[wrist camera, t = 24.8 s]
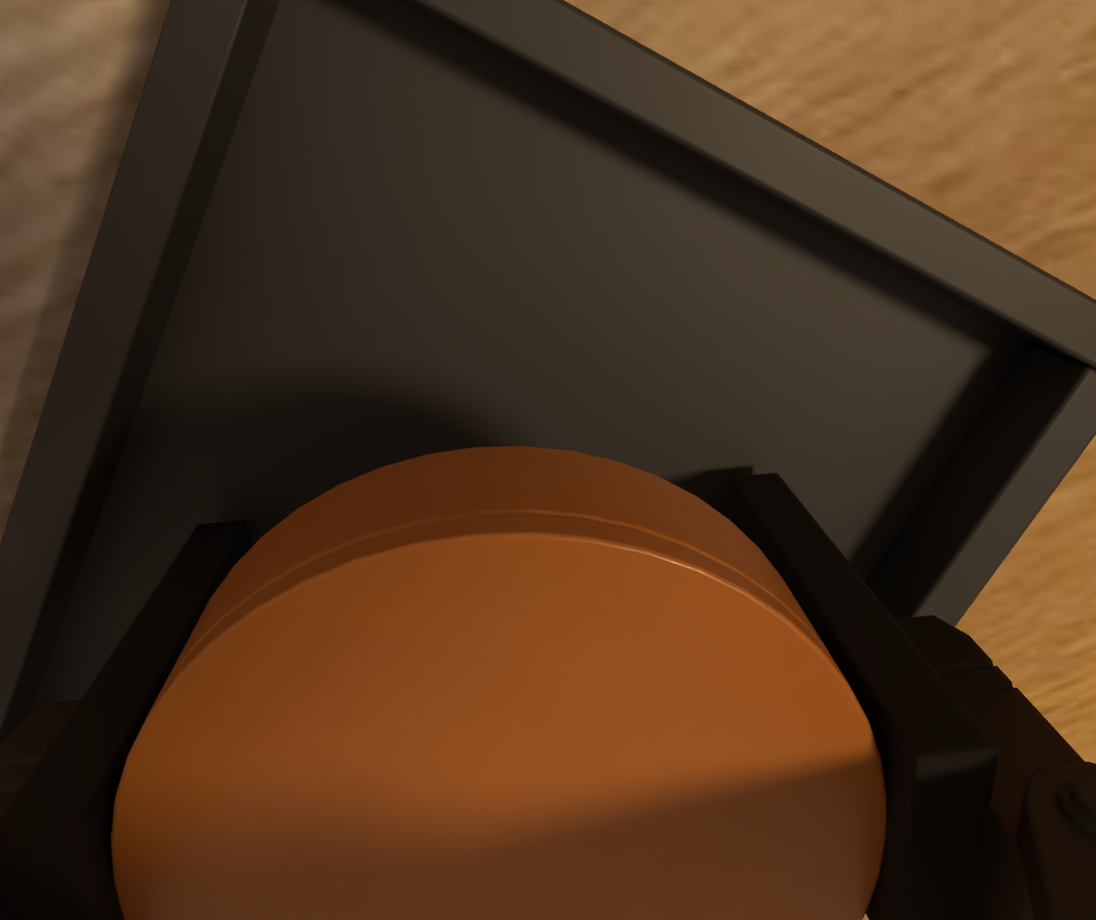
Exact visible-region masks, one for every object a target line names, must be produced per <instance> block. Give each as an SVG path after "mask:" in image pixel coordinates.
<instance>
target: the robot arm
mask: <svg viewBox="0 0 1096 920" xmlns="http://www.w3.org/2000/svg"><path fill="white" fill-rule="evenodd" d="M730 521H731V522H732V523H733V524H735V525H736V526H737V527H738V528H739V529H740V530H741V531H742V532H743V533H744V534H745V535H746V536H747V537H748V538H749V539H750V540H751V541H752V542H753V543H754V544H755V545H756V546H758V547H759V549H760V550H761V551H762V552H763V554H764V555H765V556H766V558H767V559H768V560H769V562H770V563H771V564H772V565H773V567H774V568H775V569H776V571H777V572H778V573H779V575H780V576H781V577H782V579H783V580H784V582H785V583H786V585H787V586H788V588H789V590H790V591H791V593H792V594H793V596H794V598H795V599H796V601H797V602H798V604H799V606H800V607H801V609H802V610H803V612H804V614H805V615H806V617H807V618H808V620H809V622H810V623H811V625H812V626H813V628H814V629H815V631H816V633H817V634H818V636H819V637H820V639H821V641H822V642H823V644H824V645H825V647H826V649H827V650H828V652H829V653H830V655H831V657H832V659H833V660H834V662H835V663H836V664H837V666H838V668H839V669H840V671H841V672H842V674H843V676H844V677H845V679H846V680H847V682H848V684H849V685H850V687H851V689H852V691H853V693H854V695H855V697H856V698H857V700H858V702H859V704H860V706H861V708H862V709H863V711H864V713H865V715H866V717H867V719H868V721H869V724H870V727H871V730H872V733H873V735H874V738H875V741H876V744H877V747H878V750H879V753H880V756H881V760H882V767H883V773H884V780H885V786H886V793H887V825H886V837H885V846H884V853H883V859H882V864H881V870H880V875H879V878H878V880H877V883H876V886H875V889H874V892H873V895H872V898H871V900H870V903H869V906H868V909H867V911H866V914H867V916H868V918H869V920H1096V764H1095V763H1091V762H1085V761H1084V760H1083V759H1082V758H1081V757H1080V756H1079V755H1078V754H1077V753H1076V752H1075V750H1074V749H1073V748H1072V747H1071V746H1070V745H1069V744H1068V743H1067V742H1066V741H1065V740H1064V738H1063V737H1062V736H1061V735H1060V734H1059V733H1058V732H1057V731H1056V730H1055V729H1054V728H1053V726H1052V725H1051V724H1050V723H1049V722H1048V721H1047V720H1046V719H1045V718H1044V717H1043V716H1042V715H1041V713H1040V712H1039V711H1038V710H1037V709H1036V708H1035V707H1034V706H1033V705H1032V704H1031V703H1030V701H1029V700H1028V699H1027V698H1026V697H1025V696H1024V695H1023V694H1022V693H1021V692H1020V691H1019V689H1018V688H1013V686H1012V682H1011V681H1010V680H1009V679H1008V677H1007V676H1006V675H1005V674H1004V673H1003V672H1002V671H1001V670H1000V669H999V668H998V667H997V666H993V661H992V660H991V659H990V658H989V657H988V656H987V655H986V653H985V652H984V651H983V650H982V649H981V648H980V647H979V646H978V645H977V644H976V643H975V641H974V640H973V639H972V638H971V637H970V636H969V635H967V634H966V633H964V632H962V631H960V630H959V629H957V628H955V627H953V626H952V625H950V624H948V623H946V622H945V621H943V620H941V619H939V618H938V617H936V616H934V615H929V616H918V617H908V618H898V619H894V618H893V616H892V615H891V614H890V613H889V611H888V610H887V609H886V608H885V606H884V605H883V604H882V603H881V601H880V600H879V599H878V598H877V596H876V595H875V594H874V593H873V591H872V590H871V589H870V588H869V586H868V585H867V584H866V583H865V581H864V580H863V579H862V578H861V576H860V575H859V574H858V573H857V571H856V570H855V569H854V568H853V567H852V565H851V564H850V563H849V562H848V560H847V559H846V558H845V557H844V555H843V554H842V553H841V552H840V550H839V549H838V548H837V547H836V545H835V544H834V543H833V542H832V540H831V539H830V538H829V537H828V535H827V534H826V533H825V532H824V530H823V529H822V528H821V527H820V525H819V524H818V523H817V522H816V520H815V519H814V518H813V517H812V515H811V514H810V513H809V512H808V510H807V509H806V508H805V507H804V505H803V504H802V503H801V502H800V500H799V499H798V498H797V497H796V495H795V494H794V493H793V492H792V490H791V489H790V488H789V487H788V485H787V484H786V483H785V482H784V481H783V479H782V478H781V477H780V476H779V474H778V473H767V474H756V475H745V476H734V477H730ZM252 547H253V544H252V539H251V534H250V530H249V525H248V520H239V521H228V522H216V523H205V524H198V525H197V526H196V528H195V529H194V531H193V532H192V534H191V535H190V537H189V538H188V540H187V541H186V543H185V544H184V546H183V547H182V549H181V550H180V552H179V553H178V555H177V556H176V558H175V559H174V561H173V562H172V564H171V565H170V567H169V568H168V570H167V571H166V573H165V574H164V576H163V577H162V579H161V580H160V582H159V583H158V585H157V586H156V588H155V589H154V591H153V592H152V594H151V595H150V597H149V598H148V600H147V601H146V603H145V604H144V606H143V607H142V609H141V610H140V612H139V613H138V615H137V616H136V618H135V619H134V621H133V622H132V624H131V625H130V627H129V628H128V630H127V631H126V633H125V634H124V636H123V637H122V639H121V640H120V642H119V643H118V645H117V646H116V647H115V649H114V650H113V652H112V653H111V655H110V656H109V658H108V659H107V661H106V662H105V664H104V665H103V667H102V668H101V670H100V671H99V673H98V674H97V676H96V677H95V679H94V680H93V682H92V683H91V685H90V686H89V688H88V689H87V691H86V692H85V694H84V695H83V697H82V698H81V700H75V701H64V702H54V703H47V704H46V705H45V706H44V707H42V708H41V709H40V710H38V711H37V712H36V713H35V714H33V715H32V716H31V717H29V718H28V719H27V720H25V721H24V722H23V723H22V724H20V725H19V726H18V727H16V728H15V729H14V730H13V731H11V732H10V734H9V735H8V736H7V738H6V739H5V740H4V742H3V743H2V744H1V746H0V920H124V918H123V915H122V912H121V908H120V905H119V902H118V898H117V894H116V890H115V886H114V881H113V868H112V853H111V829H112V821H113V812H114V804H115V796H116V793H117V789H118V786H119V783H120V779H121V776H122V773H123V769H124V766H125V763H126V759H127V756H128V754H129V752H130V750H131V748H132V746H133V744H134V742H135V740H136V738H137V736H138V734H139V732H140V730H141V728H142V726H143V724H144V722H145V720H146V718H147V716H148V714H149V712H150V710H151V708H152V706H153V705H154V703H155V701H156V699H157V697H158V695H159V693H160V692H161V690H162V688H163V686H164V684H165V682H166V680H167V678H168V677H169V675H170V673H171V671H172V669H173V667H174V665H175V664H176V662H177V660H178V658H179V656H180V654H181V652H182V651H183V649H184V647H185V645H186V643H187V641H188V639H189V638H190V636H191V634H192V632H193V630H194V628H195V626H196V625H197V623H198V621H199V619H200V617H201V615H202V613H203V612H204V610H205V608H206V606H207V604H208V602H209V600H210V599H211V597H212V596H213V594H214V593H215V592H216V590H217V589H218V587H219V586H220V585H221V583H222V582H223V580H224V579H225V578H226V576H227V575H228V573H229V572H230V571H231V569H232V568H233V566H234V565H235V564H236V563H237V562H238V561H239V560H240V559H241V558H242V557H243V556H244V555H245V554H246V553H247V552H248V551H249V550H250V549H251V548H252Z"/></svg>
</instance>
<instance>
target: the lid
mask: <svg viewBox="0 0 1096 920" xmlns="http://www.w3.org/2000/svg"><path fill="white" fill-rule="evenodd" d="M886 825H887V793H886V786H885V780H884V773H883V767H882V760H881V756H880V753H879V750H878V747H877V744H876V741H875V738H874V735H873V733H872V730H871V727H870V724H869V721H868V719H867V717H866V715H865V713H864V711H863V709H862V708H861V706H860V704H859V702H858V700H857V698H856V697H855V695H854V693H853V691H852V689H851V687H850V685H849V684H848V682H847V680H846V679H845V677H844V676H843V674H842V672H841V671H840V669H839V668H838V666H837V664H836V663H835V662H834V660H833V659H832V657H831V655H830V653H829V652H828V650H827V649H826V647H825V645H824V644H823V642H822V641H821V639H820V637H819V636H818V634H817V633H816V631H815V629H814V628H813V626H812V625H811V623H810V622H809V620H808V618H807V617H806V615H805V614H804V612H803V610H802V609H801V607H800V606H799V604H798V602H797V601H796V599H795V598H794V596H793V594H792V593H791V591H790V590H789V588H788V586H787V585H786V583H785V582H784V580H783V579H782V577H781V576H780V575H779V573H778V572H777V571H776V569H775V568H774V567H773V565H772V564H771V563H770V562H769V560H768V559H767V558H766V556H765V555H764V554H763V552H762V551H761V550H760V549H759V547H758V546H756V545H755V544H754V543H753V542H752V541H751V540H750V539H749V538H748V537H747V536H746V535H745V534H744V533H743V532H742V531H741V530H740V529H739V528H738V527H737V526H736V525H735V524H733V523H732V522H731V521H730V520H729V519H728V518H726V517H725V516H723V515H722V514H721V513H719V512H718V511H716V510H715V509H714V508H712V507H711V506H709V505H708V504H707V503H705V502H704V501H702V500H701V499H700V498H698V497H697V496H695V495H693V494H691V493H689V492H687V491H685V490H683V489H682V488H680V487H678V486H676V485H674V484H672V483H670V482H668V481H666V480H664V479H662V478H660V477H659V476H656V475H653V474H651V473H648V472H645V471H642V470H640V469H637V468H634V467H631V466H629V465H626V464H623V463H620V462H618V461H614V460H610V459H605V458H601V457H597V456H592V455H588V454H583V453H579V452H574V451H569V450H559V449H549V448H538V447H528V446H504V447H473V448H467V449H460V450H453V451H446V452H440V453H433V454H427V455H423V456H420V457H416V458H412V459H409V460H405V461H402V462H398V463H394V464H391V465H387V466H384V467H380V468H378V469H376V470H373V471H371V472H368V473H366V474H364V475H361V476H359V477H356V478H354V479H352V480H349V481H347V482H345V483H342V484H340V485H337V486H336V487H334V488H332V489H331V490H329V491H327V492H325V493H324V494H322V495H320V496H319V497H317V498H315V499H313V500H312V501H310V502H308V503H306V504H305V505H303V506H301V507H300V508H298V509H297V510H295V511H294V512H293V513H292V514H290V515H289V516H288V517H286V518H285V519H284V520H283V521H281V522H280V523H279V524H277V525H276V526H275V527H274V528H272V529H271V530H270V531H268V532H267V533H266V534H265V535H263V536H262V537H261V538H260V539H259V540H258V541H257V543H256V544H255V545H254V546H253V547H252V548H251V549H250V550H249V551H248V552H247V553H246V554H245V555H244V556H243V557H242V558H241V559H240V560H239V561H238V562H237V563H236V564H235V565H234V566H233V568H232V569H231V571H230V572H229V573H228V575H227V576H226V578H225V579H224V580H223V582H222V583H221V585H220V586H219V587H218V589H217V590H216V592H215V593H214V594H213V596H212V597H211V599H210V600H209V602H208V604H207V606H206V608H205V610H204V612H203V613H202V615H201V617H200V619H199V621H198V623H197V625H196V626H195V628H194V630H193V632H192V634H191V636H190V638H189V639H188V641H187V643H186V645H185V647H184V649H183V651H182V652H181V654H180V656H179V658H178V660H177V662H176V664H175V665H174V667H173V669H172V671H171V673H170V675H169V677H168V678H167V680H166V682H165V684H164V686H163V688H162V690H161V692H160V693H159V695H158V697H157V699H156V701H155V703H154V705H153V706H152V708H151V710H150V712H149V714H148V716H147V718H146V720H145V722H144V724H143V726H142V728H141V730H140V732H139V734H138V736H137V738H136V740H135V742H134V744H133V746H132V748H131V750H130V752H129V754H128V756H127V759H126V763H125V766H124V769H123V773H122V776H121V779H120V783H119V786H118V789H117V793H116V796H115V804H114V812H113V821H112V829H111V853H112V868H113V881H114V886H115V890H116V894H117V898H118V902H119V905H120V908H121V912H122V915H123V918H124V920H862V919H863V917H864V915H865V913H866V911H867V909H868V906H869V903H870V900H871V898H872V895H873V892H874V889H875V886H876V883H877V880H878V878H879V875H880V870H881V864H882V859H883V853H884V846H885V837H886Z"/></svg>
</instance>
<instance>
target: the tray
mask: <svg viewBox="0 0 1096 920" xmlns="http://www.w3.org/2000/svg"><path fill="white" fill-rule="evenodd" d="M1095 435H1096V300H1095V299H1093V298H1091V297H1090V296H1088V295H1086V294H1084V293H1083V292H1081V291H1079V290H1077V289H1075V288H1074V287H1072V286H1070V285H1068V284H1067V283H1065V282H1063V281H1061V280H1059V279H1058V278H1056V277H1054V276H1052V275H1051V274H1049V273H1047V272H1045V271H1043V270H1042V269H1040V268H1038V267H1036V266H1035V265H1033V264H1031V263H1029V262H1027V261H1026V260H1024V259H1022V258H1020V257H1019V256H1017V255H1015V254H1013V253H1011V252H1010V251H1008V250H1006V249H1004V248H1003V247H1001V246H999V245H997V244H995V243H994V242H992V241H990V240H988V239H987V238H985V237H983V236H981V235H979V234H978V233H976V232H974V231H972V230H971V229H969V228H967V227H965V226H964V225H962V224H960V223H958V222H956V221H955V220H953V219H951V218H949V217H948V216H946V215H944V214H942V213H940V212H939V211H937V210H935V209H933V208H932V207H930V206H928V205H926V204H924V203H923V202H921V201H919V200H917V199H916V198H914V197H912V196H910V195H908V194H907V193H905V192H903V191H901V190H900V189H898V188H896V187H894V186H892V185H891V184H889V183H887V182H885V181H884V180H882V179H880V178H878V177H876V176H875V175H873V174H871V173H869V172H868V171H866V170H864V169H862V168H860V167H859V166H857V165H855V164H853V163H852V162H850V161H848V160H846V159H845V158H843V157H841V156H839V155H837V154H836V153H834V152H832V151H830V150H829V149H827V148H825V147H823V146H821V145H820V144H818V143H816V142H814V141H813V140H811V139H809V138H807V137H805V136H804V135H802V134H800V133H798V132H797V131H795V130H793V129H791V128H789V127H788V126H786V125H784V124H782V123H781V122H779V121H777V120H775V119H773V118H772V117H770V116H768V115H766V114H765V113H763V112H761V111H759V110H757V109H756V108H754V107H752V106H750V105H749V104H747V103H745V102H743V101H741V100H740V99H738V98H736V97H734V96H733V95H731V94H729V93H727V92H726V91H724V90H722V89H720V88H718V87H717V86H715V85H713V84H711V83H710V82H708V81H706V80H704V79H702V78H701V77H699V76H697V75H695V74H694V73H692V72H690V71H688V70H686V69H685V68H683V67H681V66H679V65H678V64H676V63H674V62H672V61H670V60H669V59H667V58H665V57H663V56H662V55H660V54H658V53H656V52H654V51H653V50H651V49H649V48H647V47H646V46H644V45H642V44H640V43H638V42H637V41H635V40H633V39H631V38H630V37H628V36H626V35H624V34H622V33H621V32H619V31H617V30H615V29H614V28H612V27H610V26H608V25H607V24H605V23H603V22H601V21H599V20H598V19H596V18H594V17H592V16H591V15H589V14H587V13H585V12H583V11H582V10H580V9H578V8H576V7H575V6H573V5H571V4H569V3H567V2H566V1H564V0H171V1H170V4H169V8H168V11H167V14H166V17H165V20H164V24H163V27H162V30H161V33H160V36H159V40H158V43H157V46H156V49H155V52H154V55H153V59H152V62H151V65H150V68H149V71H148V75H147V78H146V81H145V84H144V87H143V91H142V94H141V97H140V100H139V103H138V106H137V110H136V113H135V116H134V119H133V122H132V126H131V129H130V132H129V135H128V138H127V142H126V145H125V148H124V151H123V154H122V157H121V161H120V164H119V167H118V170H117V173H116V177H115V180H114V183H113V186H112V189H111V193H110V196H109V199H108V202H107V205H106V208H105V212H104V215H103V218H102V221H101V224H100V228H99V231H98V234H97V237H96V240H95V244H94V247H93V250H92V253H91V256H90V259H89V263H88V266H87V269H86V272H85V275H84V279H83V282H82V285H81V288H80V291H79V295H78V298H77V301H76V304H75V307H74V311H73V314H72V317H71V320H70V323H69V326H68V330H67V333H66V336H65V339H64V342H63V346H62V349H61V352H60V355H59V358H58V362H57V365H56V368H55V371H54V374H53V377H52V381H51V384H50V387H49V390H48V393H47V397H46V400H45V403H44V406H43V409H42V413H41V416H40V419H39V422H38V425H37V428H36V432H35V435H34V438H33V441H32V444H31V448H30V451H29V454H28V457H27V460H26V464H25V467H24V470H23V473H22V476H21V479H20V483H19V486H18V489H17V492H16V495H15V499H14V502H13V505H12V508H11V511H10V515H9V518H8V521H7V524H6V527H5V530H4V534H3V537H2V540H1V543H0V746H1V744H2V743H3V742H4V740H5V739H6V738H7V736H8V735H9V734H10V732H11V731H13V730H14V729H15V728H16V727H18V726H19V725H20V724H22V723H23V722H24V721H25V720H27V719H28V718H29V717H31V716H32V715H33V714H35V713H36V712H37V711H38V710H40V709H41V708H42V707H44V706H45V705H46V704H47V703H54V702H64V701H75V700H81V698H82V697H83V695H84V694H85V692H86V691H87V689H88V688H89V686H90V685H91V683H92V682H93V680H94V679H95V677H96V676H97V674H98V673H99V671H100V670H101V668H102V667H103V665H104V664H105V662H106V661H107V659H108V658H109V656H110V655H111V653H112V652H113V650H114V649H115V647H116V646H117V645H118V643H119V642H120V640H121V639H122V637H123V636H124V634H125V633H126V631H127V630H128V628H129V627H130V625H131V624H132V622H133V621H134V619H135V618H136V616H137V615H138V613H139V612H140V610H141V609H142V607H143V606H144V604H145V603H146V601H147V600H148V598H149V597H150V595H151V594H152V592H153V591H154V589H155V588H156V586H157V585H158V583H159V582H160V580H161V579H162V577H163V576H164V574H165V573H166V571H167V570H168V568H169V567H170V565H171V564H172V562H173V561H174V559H175V558H176V556H177V555H178V553H179V552H180V550H181V549H182V547H183V546H184V544H185V543H186V541H187V540H188V538H189V537H190V535H191V534H192V532H193V531H194V529H195V528H196V526H197V525H198V524H205V523H216V522H228V521H239V520H248V525H249V530H250V534H251V539H252V544H253V546H254V545H255V544H256V543H257V541H258V540H259V539H260V538H261V537H262V536H263V535H265V534H266V533H267V532H268V531H270V530H271V529H272V528H274V527H275V526H276V525H277V524H279V523H280V522H281V521H283V520H284V519H285V518H286V517H288V516H289V515H290V514H292V513H293V512H294V511H295V510H297V509H298V508H300V507H301V506H303V505H305V504H306V503H308V502H310V501H312V500H313V499H315V498H317V497H319V496H320V495H322V494H324V493H325V492H327V491H329V490H331V489H332V488H334V487H336V486H337V485H340V484H342V483H345V482H347V481H349V480H352V479H354V478H356V477H359V476H361V475H364V474H366V473H368V472H371V471H373V470H376V469H378V468H380V467H384V466H387V465H391V464H394V463H398V462H402V461H405V460H409V459H412V458H416V457H420V456H423V455H427V454H433V453H440V452H446V451H453V450H460V449H467V448H473V447H504V446H528V447H538V448H549V449H559V450H569V451H574V452H579V453H583V454H588V455H592V456H597V457H601V458H605V459H610V460H614V461H618V462H620V463H623V464H626V465H629V466H631V467H634V468H637V469H640V470H642V471H645V472H648V473H651V474H653V475H656V476H659V477H660V478H662V479H664V480H666V481H668V482H670V483H672V484H674V485H676V486H678V487H680V488H682V489H683V490H685V491H687V492H689V493H691V494H693V495H695V496H697V497H698V498H700V499H701V500H702V501H704V502H705V503H707V504H708V505H709V506H711V507H712V508H714V509H715V510H716V511H718V512H719V513H721V514H722V515H723V516H725V517H726V518H728V519H729V520H730V477H734V476H745V475H756V474H767V473H778V474H779V476H780V477H781V478H782V479H783V481H784V482H785V483H786V484H787V485H788V487H789V488H790V489H791V490H792V492H793V493H794V494H795V495H796V497H797V498H798V499H799V500H800V502H801V503H802V504H803V505H804V507H805V508H806V509H807V510H808V512H809V513H810V514H811V515H812V517H813V518H814V519H815V520H816V522H817V523H818V524H819V525H820V527H821V528H822V529H823V530H824V532H825V533H826V534H827V535H828V537H829V538H830V539H831V540H832V542H833V543H834V544H835V545H836V547H837V548H838V549H839V550H840V552H841V553H842V554H843V555H844V557H845V558H846V559H847V560H848V562H849V563H850V564H851V565H852V567H853V568H854V569H855V570H856V571H857V573H858V574H859V575H860V576H861V578H862V579H863V580H864V581H865V583H866V584H867V585H868V586H869V588H870V589H871V590H872V591H873V593H874V594H875V595H876V596H877V598H878V599H879V600H880V601H881V603H882V604H883V605H884V606H885V608H886V609H887V610H888V611H889V613H890V614H891V615H892V616H893V618H894V619H898V618H908V617H918V616H929V615H934V616H936V617H938V618H939V619H941V620H943V621H945V622H946V623H948V624H950V625H952V626H953V627H955V626H956V625H957V623H958V622H959V620H960V619H961V618H962V616H963V615H964V614H965V612H966V611H967V610H968V608H969V607H970V605H971V604H972V603H973V601H974V600H975V599H976V597H977V596H978V594H979V593H980V592H981V590H982V589H983V588H984V586H985V585H986V584H987V582H988V581H989V579H990V578H991V577H992V575H993V574H994V573H995V571H996V570H997V569H998V567H999V566H1000V564H1001V563H1002V562H1003V560H1004V559H1005V558H1006V556H1007V555H1008V553H1009V552H1010V551H1011V549H1012V548H1013V547H1014V545H1015V544H1016V543H1017V541H1018V540H1019V538H1020V537H1021V536H1022V534H1023V533H1024V532H1025V530H1026V529H1027V528H1028V526H1029V525H1030V523H1031V522H1032V521H1033V519H1034V518H1035V517H1036V515H1037V514H1038V512H1039V511H1040V510H1041V508H1042V507H1043V506H1044V504H1045V503H1046V502H1047V500H1048V499H1049V497H1050V496H1051V495H1052V493H1053V492H1054V491H1055V489H1056V488H1057V487H1058V485H1059V484H1060V482H1061V481H1062V480H1063V478H1064V477H1065V476H1066V474H1067V473H1068V472H1069V470H1070V469H1071V467H1072V466H1073V465H1074V463H1075V462H1076V461H1077V459H1078V458H1079V456H1080V455H1081V454H1082V452H1083V451H1084V450H1085V448H1086V447H1087V446H1088V444H1089V443H1090V441H1091V440H1092V439H1093V437H1094V436H1095Z"/></svg>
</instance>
